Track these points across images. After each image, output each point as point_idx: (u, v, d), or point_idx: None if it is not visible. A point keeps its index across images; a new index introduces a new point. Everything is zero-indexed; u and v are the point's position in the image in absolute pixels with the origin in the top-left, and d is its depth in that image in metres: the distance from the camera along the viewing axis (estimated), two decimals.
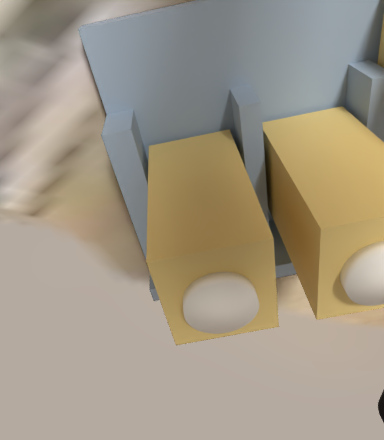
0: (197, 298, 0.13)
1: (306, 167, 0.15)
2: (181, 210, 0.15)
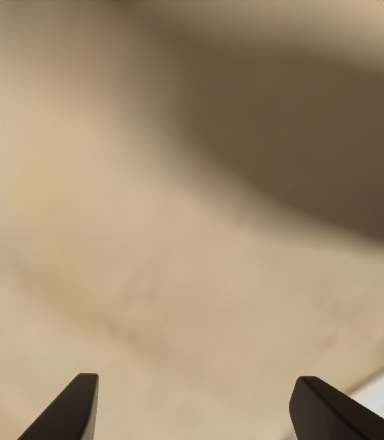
0: None
1: None
2: None
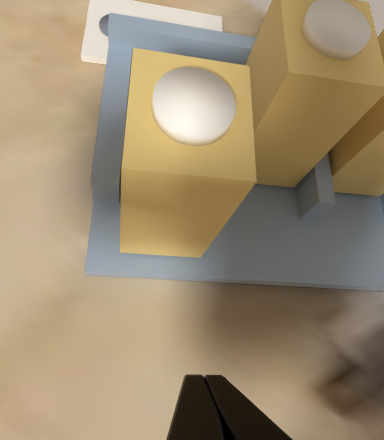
0: None
1: (323, 140, 0.18)
2: None
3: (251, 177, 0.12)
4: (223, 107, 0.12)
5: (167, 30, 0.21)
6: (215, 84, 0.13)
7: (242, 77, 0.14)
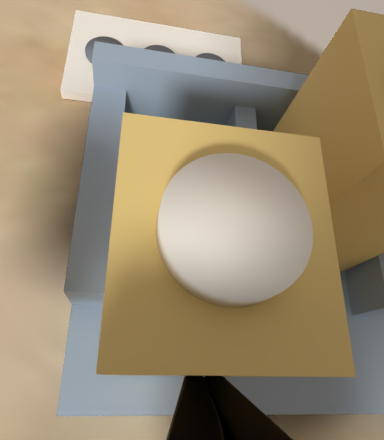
0: None
1: None
2: None
3: (345, 367, 0.06)
4: (290, 233, 0.07)
5: (174, 65, 0.15)
6: (273, 186, 0.07)
7: (310, 160, 0.08)
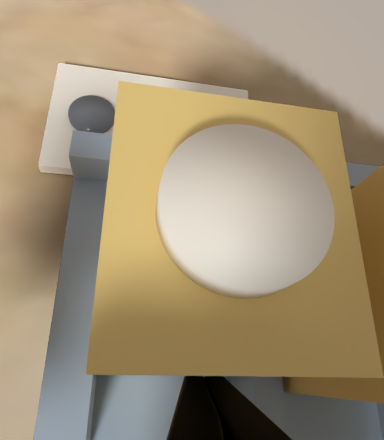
0: None
1: None
2: None
3: (371, 367, 0.06)
4: (309, 214, 0.06)
5: None
6: (289, 161, 0.06)
7: (327, 136, 0.07)
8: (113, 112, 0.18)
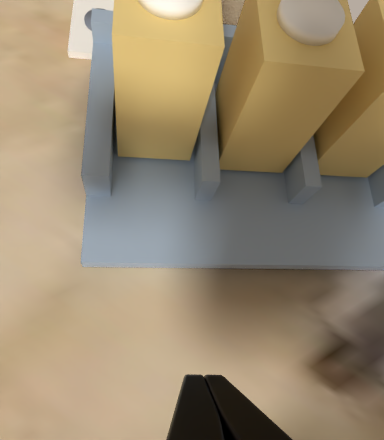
0: None
1: (305, 125, 0.19)
2: None
3: (220, 43, 0.15)
4: None
5: None
6: None
7: None
8: None
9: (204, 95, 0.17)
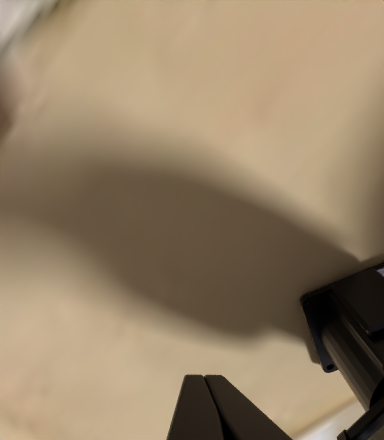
0: None
1: None
2: None
3: None
4: None
5: None
6: None
7: None
8: None
9: None
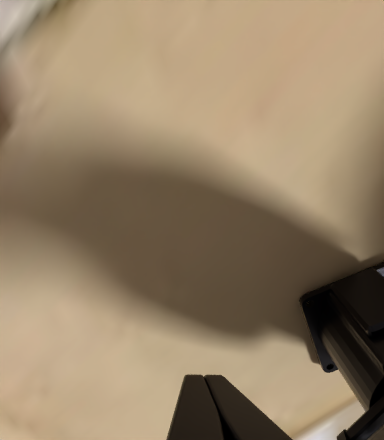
0: None
1: None
2: None
3: None
4: None
5: None
6: None
7: None
8: None
9: None
